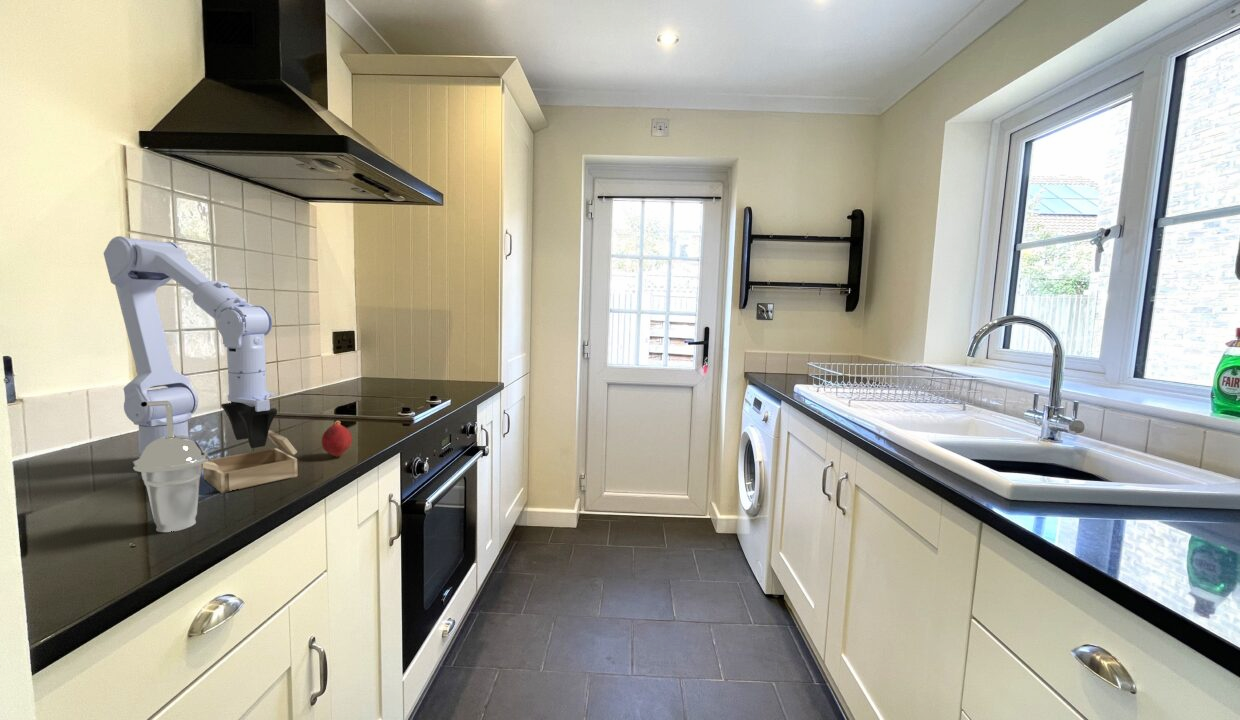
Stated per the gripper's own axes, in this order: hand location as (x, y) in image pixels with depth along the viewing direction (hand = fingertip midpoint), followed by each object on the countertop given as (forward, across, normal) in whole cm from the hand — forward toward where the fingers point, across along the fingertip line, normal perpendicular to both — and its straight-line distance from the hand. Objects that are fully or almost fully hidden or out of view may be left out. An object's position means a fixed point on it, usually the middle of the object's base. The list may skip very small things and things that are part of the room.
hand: (250, 442), depth 96 cm
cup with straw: (+7, -15, +14) cm, 22 cm away
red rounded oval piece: (+7, +2, -16) cm, 18 cm away
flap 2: (+1, 0, -5) cm, 5 cm away
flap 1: (+1, 0, +8) cm, 8 cm away
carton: (+7, 0, 0) cm, 7 cm away
